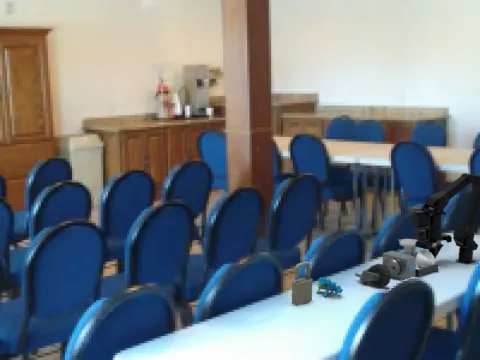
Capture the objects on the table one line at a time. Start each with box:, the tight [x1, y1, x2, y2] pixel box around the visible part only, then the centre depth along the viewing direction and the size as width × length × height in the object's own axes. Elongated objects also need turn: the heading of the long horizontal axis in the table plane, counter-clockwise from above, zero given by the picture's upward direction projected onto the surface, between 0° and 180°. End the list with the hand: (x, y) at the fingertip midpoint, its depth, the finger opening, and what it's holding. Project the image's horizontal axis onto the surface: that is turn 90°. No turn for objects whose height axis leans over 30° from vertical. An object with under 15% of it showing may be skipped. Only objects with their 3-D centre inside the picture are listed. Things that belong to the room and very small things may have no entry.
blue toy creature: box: [316, 276, 344, 298], centre depth 259 cm, size 11×6×10 cm
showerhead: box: [398, 238, 418, 256], centre depth 312 cm, size 9×7×10 cm
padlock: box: [291, 261, 313, 306], centre depth 251 cm, size 4×8×15 cm, turn 131°
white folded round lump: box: [415, 249, 436, 268], centre depth 293 cm, size 8×8×8 cm
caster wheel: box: [354, 263, 392, 289], centre depth 270 cm, size 6×10×15 cm
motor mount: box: [382, 250, 439, 281], centre depth 285 cm, size 23×15×9 cm, turn 130°
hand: (432, 260), depth 297 cm, fingers closed
